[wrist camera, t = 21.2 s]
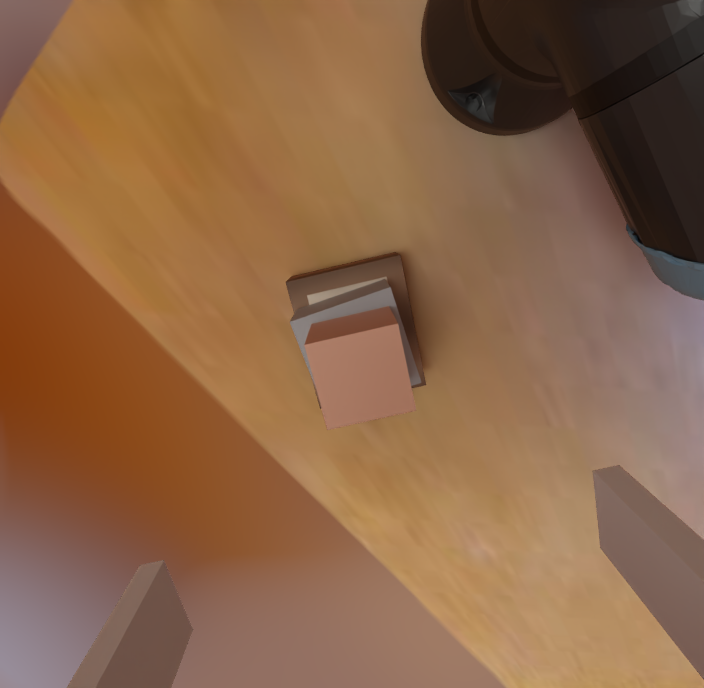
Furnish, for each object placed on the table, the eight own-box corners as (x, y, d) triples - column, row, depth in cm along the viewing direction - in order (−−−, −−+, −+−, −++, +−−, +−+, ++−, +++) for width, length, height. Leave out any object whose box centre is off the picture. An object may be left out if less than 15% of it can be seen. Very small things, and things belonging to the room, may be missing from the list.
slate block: (296, 309, 38) (289, 322, 33) (384, 278, 38) (390, 287, 33) (328, 391, 40) (326, 413, 35) (412, 363, 40) (421, 382, 35)
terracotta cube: (311, 323, 33) (304, 344, 28) (388, 305, 33) (398, 323, 27) (330, 395, 35) (327, 430, 29) (404, 379, 35) (416, 410, 29)
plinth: (291, 276, 42) (285, 282, 38) (395, 252, 41) (400, 255, 37) (322, 392, 45) (320, 409, 41) (419, 370, 44) (426, 385, 40)
